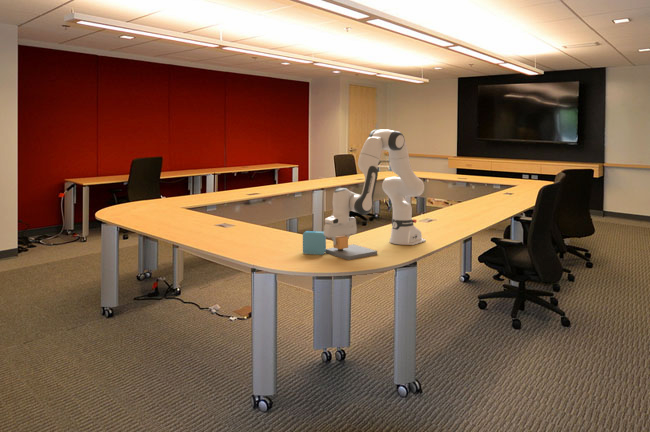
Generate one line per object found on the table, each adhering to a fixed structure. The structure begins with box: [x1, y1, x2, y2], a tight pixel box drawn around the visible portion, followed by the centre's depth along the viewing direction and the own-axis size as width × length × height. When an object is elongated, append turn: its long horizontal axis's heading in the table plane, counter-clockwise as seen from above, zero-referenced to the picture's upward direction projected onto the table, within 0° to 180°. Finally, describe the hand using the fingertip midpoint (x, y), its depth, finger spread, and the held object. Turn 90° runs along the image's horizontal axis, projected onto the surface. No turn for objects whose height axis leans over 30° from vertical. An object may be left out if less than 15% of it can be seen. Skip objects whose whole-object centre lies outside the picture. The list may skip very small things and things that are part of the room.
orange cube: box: [332, 235, 349, 249], centre depth 277 cm, size 6×6×6 cm
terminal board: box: [324, 244, 378, 261], centre depth 279 cm, size 20×20×6 cm
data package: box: [302, 230, 327, 256], centre depth 278 cm, size 12×4×12 cm, turn 80°
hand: (340, 243), depth 278 cm, fingers closed on orange cube, 6 cm apart
